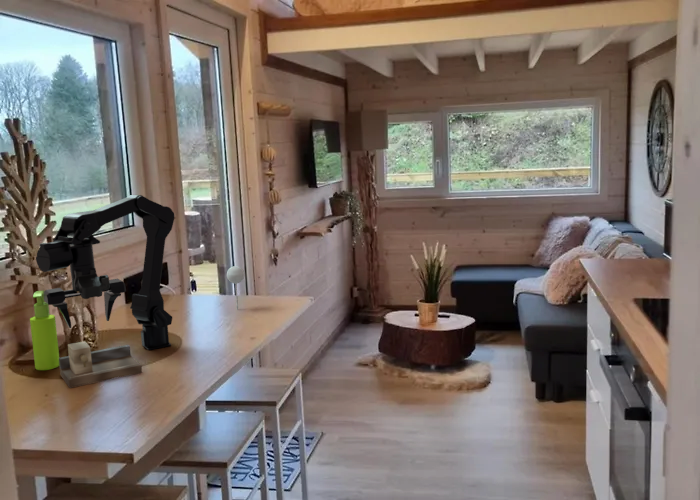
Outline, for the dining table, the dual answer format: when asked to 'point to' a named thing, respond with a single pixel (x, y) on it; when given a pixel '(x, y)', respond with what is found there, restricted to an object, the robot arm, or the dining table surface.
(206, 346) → the dining table surface
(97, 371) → the grey stepped stand
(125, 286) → the robot arm
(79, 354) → the block
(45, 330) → the soap dispenser
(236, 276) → the lollipop
